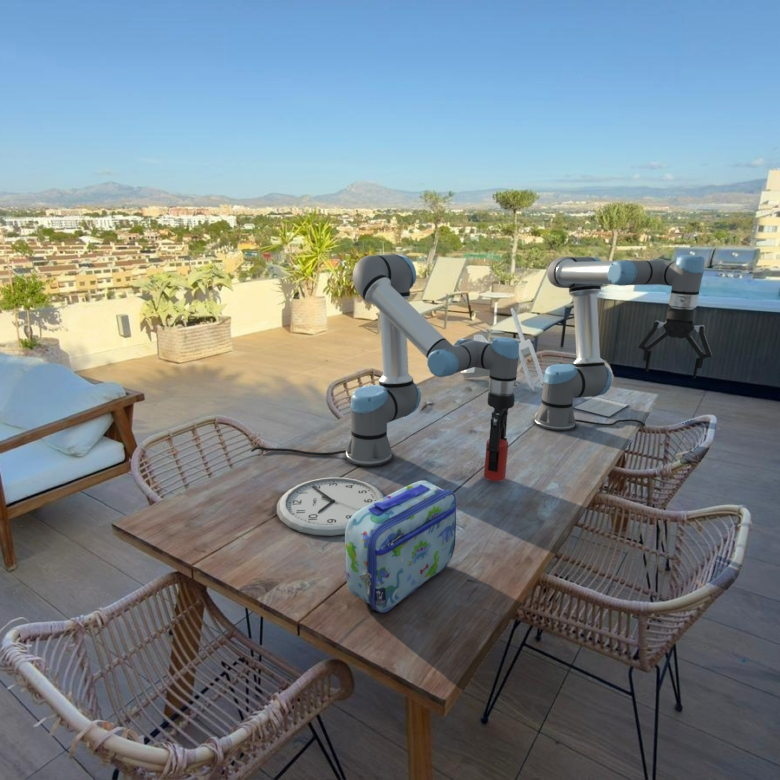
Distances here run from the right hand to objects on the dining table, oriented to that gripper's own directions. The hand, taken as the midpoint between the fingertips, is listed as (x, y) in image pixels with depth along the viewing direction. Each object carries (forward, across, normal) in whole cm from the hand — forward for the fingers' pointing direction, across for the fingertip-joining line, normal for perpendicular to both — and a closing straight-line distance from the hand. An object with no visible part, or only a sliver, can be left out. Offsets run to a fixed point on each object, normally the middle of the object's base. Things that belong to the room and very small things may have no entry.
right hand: (669, 374), depth 166 cm
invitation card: (+30, -27, +46) cm, 61 cm away
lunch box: (+30, -35, -102) cm, 112 cm away
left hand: (+24, -38, -46) cm, 65 cm away
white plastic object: (+30, -76, +50) cm, 96 cm away
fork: (+30, -89, +2) cm, 94 cm away
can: (+28, -38, -46) cm, 66 cm away
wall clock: (+30, -68, -86) cm, 113 cm away
